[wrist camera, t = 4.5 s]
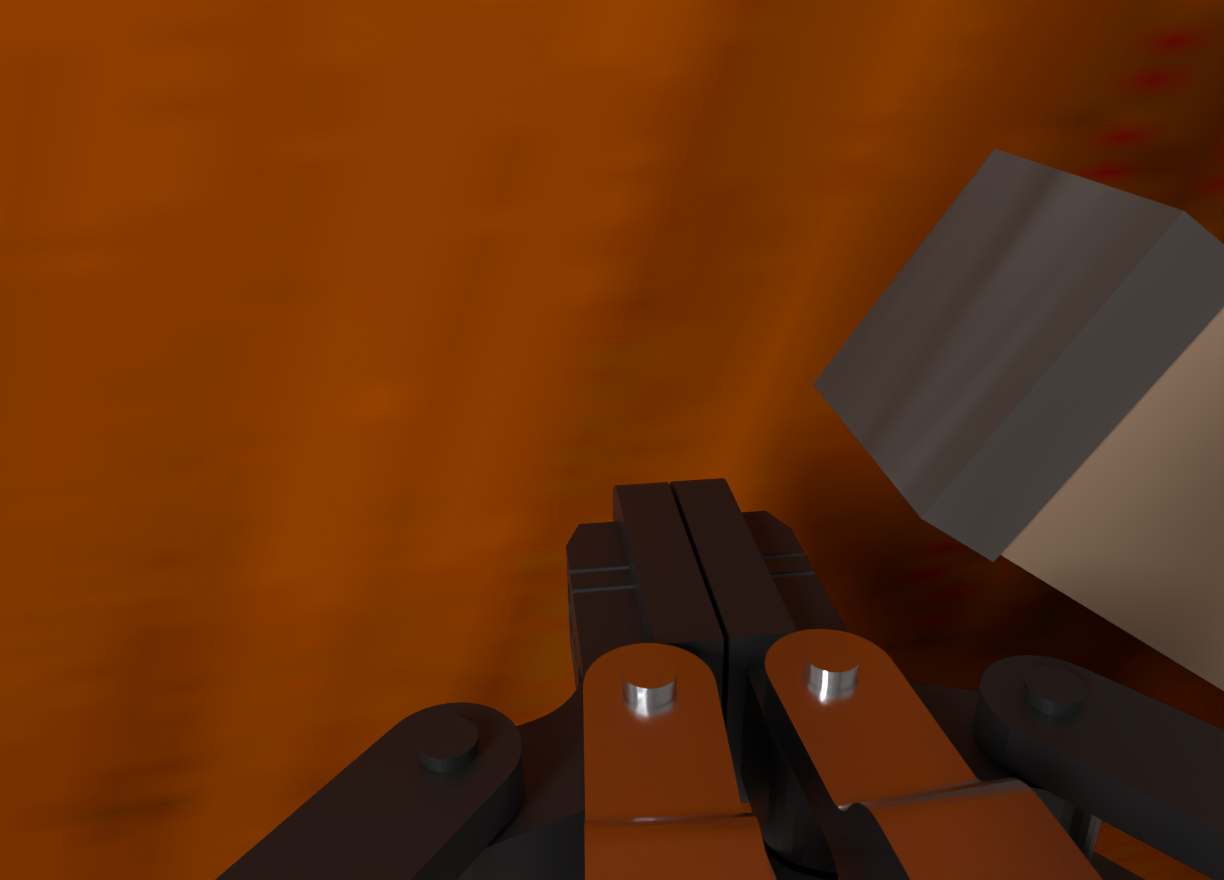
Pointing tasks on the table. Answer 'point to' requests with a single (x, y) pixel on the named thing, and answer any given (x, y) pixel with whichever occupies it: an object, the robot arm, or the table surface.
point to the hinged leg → (1060, 396)
